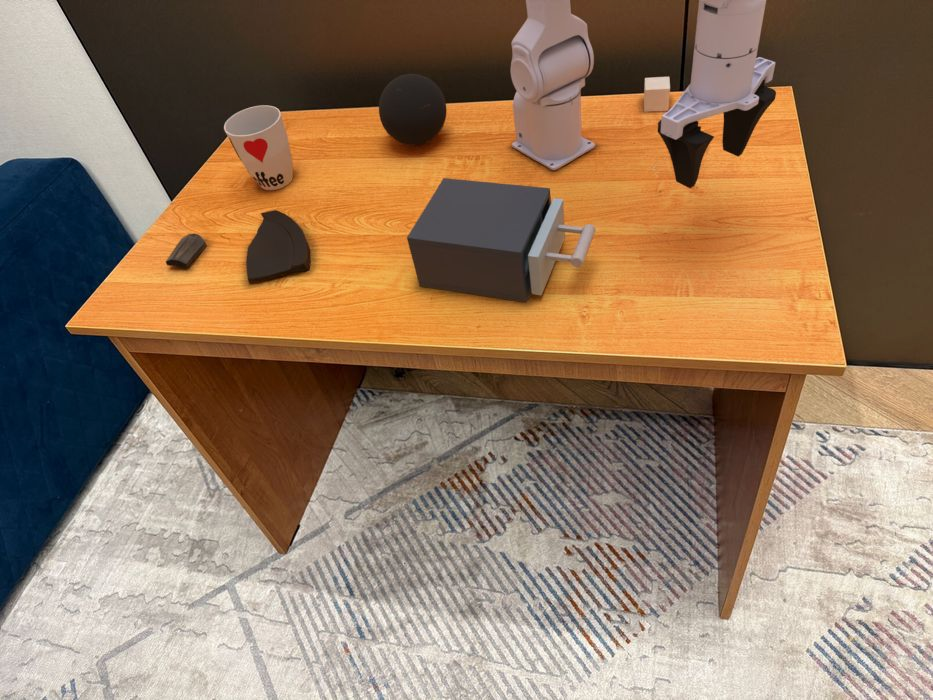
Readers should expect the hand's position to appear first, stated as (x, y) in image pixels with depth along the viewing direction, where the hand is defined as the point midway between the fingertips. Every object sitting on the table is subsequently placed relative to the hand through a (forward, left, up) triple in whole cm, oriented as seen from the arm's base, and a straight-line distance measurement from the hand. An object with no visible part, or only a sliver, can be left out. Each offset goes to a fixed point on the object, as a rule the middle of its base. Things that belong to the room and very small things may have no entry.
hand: (709, 167), depth 75 cm
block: (-46, -48, -10) cm, 68 cm away
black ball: (-45, -10, -10) cm, 47 cm away
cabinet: (-15, -20, -10) cm, 27 cm away
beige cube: (-25, +19, -10) cm, 33 cm away
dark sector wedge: (-37, -39, -10) cm, 54 cm away
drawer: (-12, -18, -9) cm, 23 cm away
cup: (-53, -32, -10) cm, 63 cm away
